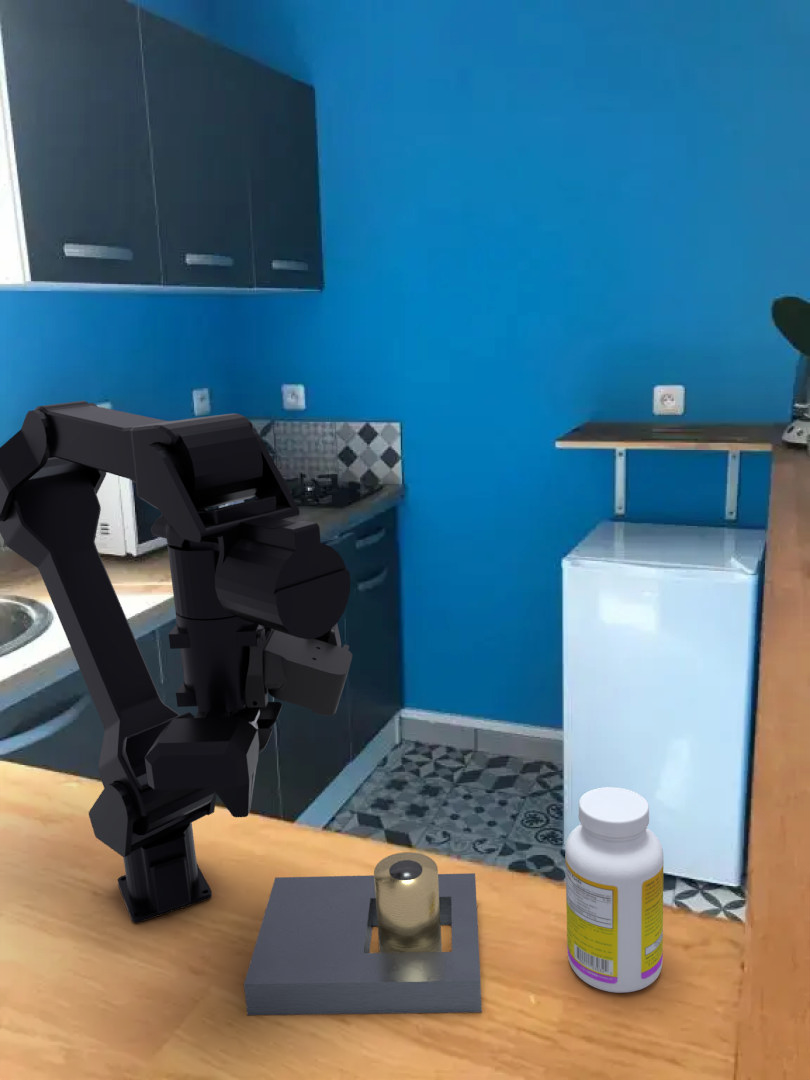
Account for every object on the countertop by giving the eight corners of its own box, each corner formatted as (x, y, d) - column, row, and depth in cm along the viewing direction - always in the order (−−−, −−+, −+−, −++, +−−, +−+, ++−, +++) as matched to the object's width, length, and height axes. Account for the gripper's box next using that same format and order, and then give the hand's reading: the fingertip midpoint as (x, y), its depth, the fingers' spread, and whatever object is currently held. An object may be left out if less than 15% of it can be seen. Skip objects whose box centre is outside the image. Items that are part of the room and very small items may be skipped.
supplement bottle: (647, 930, 70) (649, 776, 67) (674, 994, 64) (678, 826, 60) (558, 936, 70) (556, 782, 67) (577, 1001, 64) (576, 833, 60)
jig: (247, 1015, 64) (243, 984, 63) (277, 904, 75) (275, 877, 75) (481, 1012, 63) (480, 980, 62) (476, 900, 75) (475, 873, 74)
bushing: (369, 946, 70) (363, 864, 68) (423, 925, 72) (418, 844, 70) (397, 984, 66) (391, 897, 64) (453, 960, 68) (449, 875, 66)
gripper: (320, 653, 53) (339, 893, 57) (352, 562, 71) (365, 749, 75) (127, 660, 54) (160, 897, 57) (208, 568, 72) (228, 753, 75)
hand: (241, 814), depth 66 cm, fingers closed
